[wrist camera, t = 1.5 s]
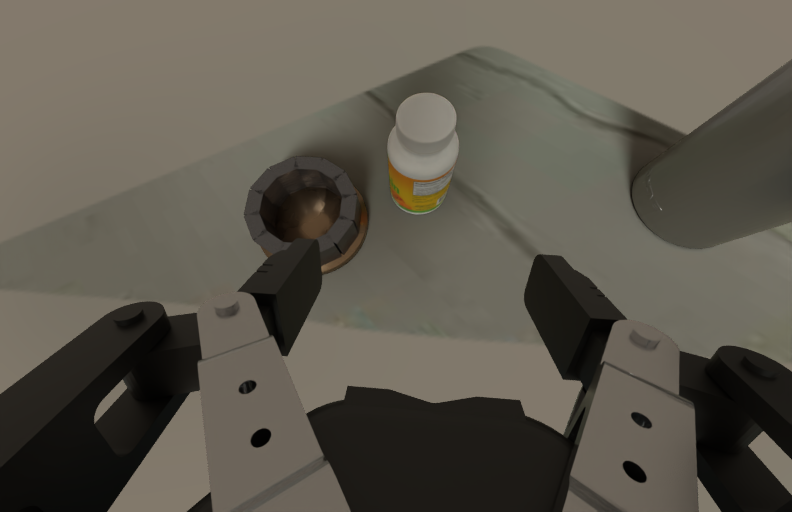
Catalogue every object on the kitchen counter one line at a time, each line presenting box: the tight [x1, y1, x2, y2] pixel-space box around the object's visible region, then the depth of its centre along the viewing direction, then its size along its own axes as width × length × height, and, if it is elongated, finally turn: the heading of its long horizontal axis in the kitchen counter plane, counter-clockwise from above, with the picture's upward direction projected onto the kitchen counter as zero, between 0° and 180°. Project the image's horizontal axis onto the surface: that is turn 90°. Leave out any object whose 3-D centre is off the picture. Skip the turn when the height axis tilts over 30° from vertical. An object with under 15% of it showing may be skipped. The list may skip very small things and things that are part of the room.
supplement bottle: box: [387, 93, 459, 214], centre depth 24 cm, size 5×5×10 cm
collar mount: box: [244, 156, 368, 275], centre depth 26 cm, size 10×10×4 cm
